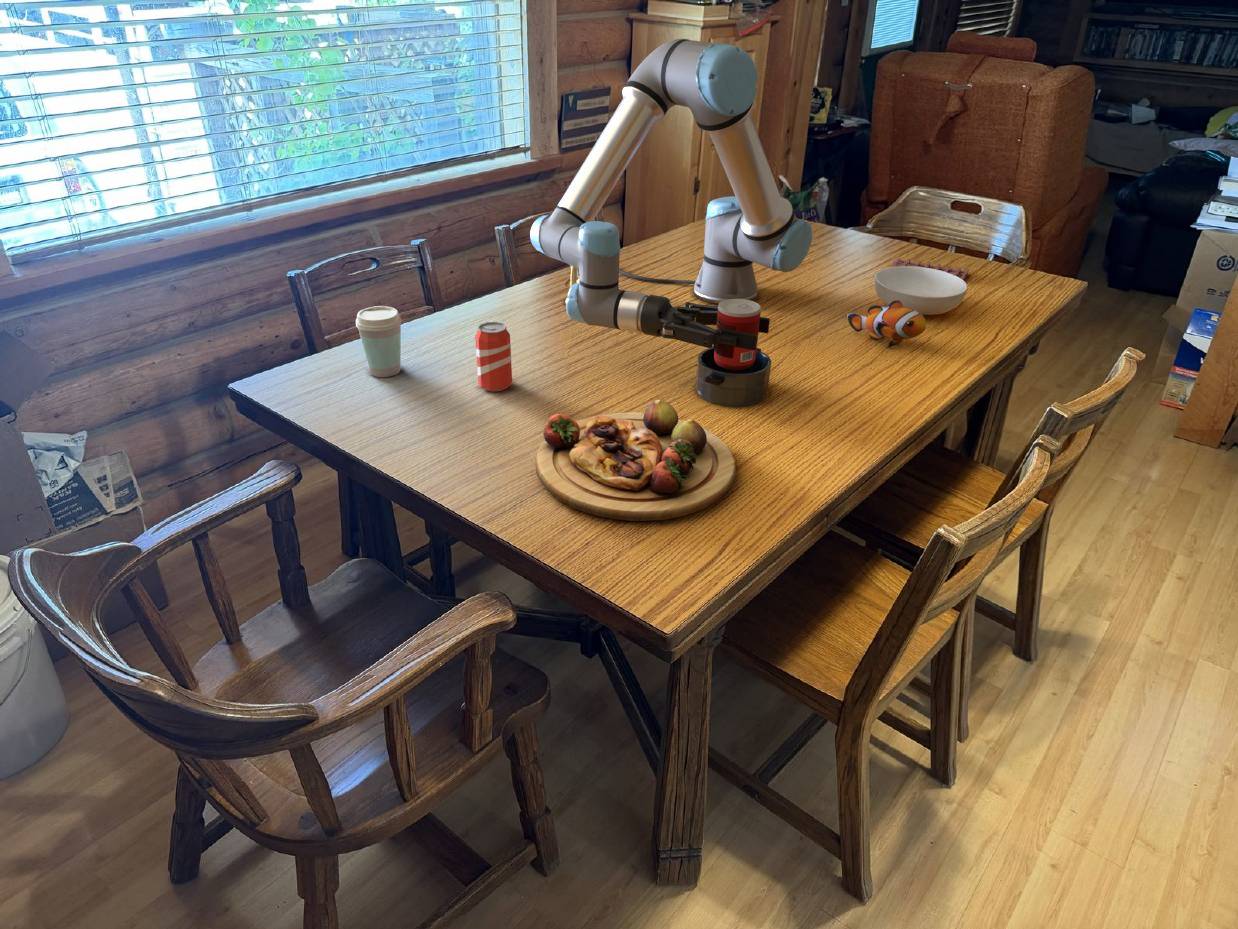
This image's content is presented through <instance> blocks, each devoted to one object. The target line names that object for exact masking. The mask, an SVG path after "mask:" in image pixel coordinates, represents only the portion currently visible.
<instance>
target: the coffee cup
mask: <svg viewBox="0 0 1238 929" xmlns="http://www.w3.org/2000/svg"><path fill="white" fill-rule="evenodd" d="M402 323H403V319H402V316H401V315H400V313H399V311H398V309H396V308H394V307H392V306H386V305H377V306H376V305H375V306H370V307H365V308H362V309H361V310H359V311H358V312H357V314H356V319H355V326H356V328H357V329H358V333H359V338H360V341H361V344H362V348H363V352H364V356H365V359H366V363H367V367H368V371H369V373H370V375H371V376H374V377H377V378H388V377H389V378H390V377H392V376H395V375H398V374H399V373H400V372H401V349H402V348H401V344H402V343H401V342H402V341H401V340H402V339H401V330H402V329H401V326H402Z"/></svg>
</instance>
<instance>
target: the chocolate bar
mask: <svg viewBox="0 0 1238 929" xmlns="http://www.w3.org/2000/svg"><path fill="white" fill-rule="evenodd" d="M898 266H914V267H924V268H931V269H936V270H940V271H944V272H947V273H950V274H953V275H955V276H957V277H959V278H961V279H962V280H963V281H965V280H966V279H967V278H968V276H969V270H970V269H969V268H965V270H962V268H961V267H957V269H955V268H951V265H947V267H944V266H941V264H940V263H937V264H936V265H931V262H929V261H928V262H926V263H921V260H917V261H916V262H913V261H911V259H910V258H907V259H906V260H901V259H900V257H897V258H895V259H894V260H893V262H892V264H891V265H890V267H898Z"/></svg>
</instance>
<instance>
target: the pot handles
mask: <svg viewBox="0 0 1238 929" xmlns="http://www.w3.org/2000/svg"><path fill="white" fill-rule="evenodd" d="M756 350H759V351H761V352H762V348H760V347H757V349H756ZM724 378H725V377H722V376H718V375H714V374H710V375H708V376H707V377H706V378H705V382H707V383H710V384H714V385H717V386H719V385H721V384H722V383H723V382H724Z"/></svg>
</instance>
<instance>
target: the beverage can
mask: <svg viewBox="0 0 1238 929" xmlns="http://www.w3.org/2000/svg"><path fill="white" fill-rule="evenodd" d="M474 341H475V356H476V370H477V384H478V386H479V387H480V388H481V389H484V390H485V391H489V392H492V393H493V392H502V391H504V390H506V389H507V388H509V387H511V385H512V384H513V370H512V368H513V367H512V366H513V365H512V348H511V347H512V346H511V334H510V332H509V331H508V330H507V325H505V324H504V322H499V321H487V322H483V323H480V324H479V325H478V326H477V331H476V333H475V335H474Z"/></svg>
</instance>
